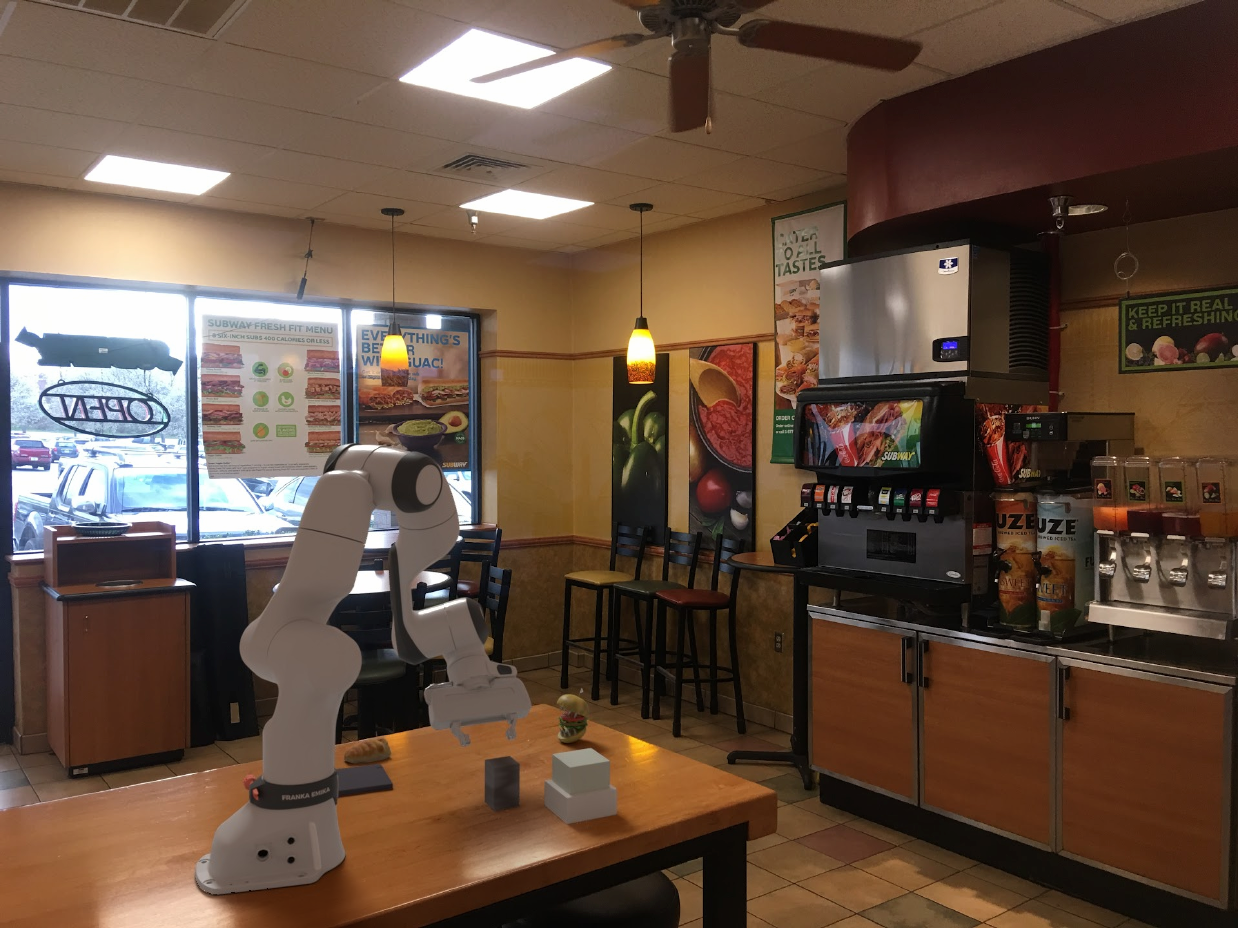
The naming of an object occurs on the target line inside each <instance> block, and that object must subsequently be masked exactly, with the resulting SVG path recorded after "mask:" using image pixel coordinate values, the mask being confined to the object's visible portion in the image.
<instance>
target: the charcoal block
mask: <svg viewBox="0 0 1238 928" xmlns="http://www.w3.org/2000/svg"><path fill="white" fill-rule="evenodd" d="M520 769H521V763H520V762H518V761H517V760H515V759H514V758H513V757H512V756H510V755H506V756H500V757H493V758H488V759H484V803H485V804H486V805H487V806H488V807H489V808H490V809H492V811H494V812H497V811H501V810H507V809H511V808H517V807H520V801H521V800H520V793H521V792H520V791H521V790H520V789H521V788H520V781H521V780H520V777H521V776H520V773H521V771H520Z"/></svg>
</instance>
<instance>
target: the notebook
mask: <svg viewBox="0 0 1238 928" xmlns="http://www.w3.org/2000/svg"><path fill="white" fill-rule="evenodd" d="M335 769H336V770H337V775H338V797H343V796H350V795H359V794H365V793H371V792H372V793H373V792H380V791H386V790H393V789H394V788H393V787H394V783H393V781H392V780H391V778H390V776H389V775H388V773H387V771H386V770H385V768H384V766H383V765H382V764H379V763H375V764H367V765H358V766H350V767H343V768H335Z"/></svg>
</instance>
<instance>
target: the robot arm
mask: <svg viewBox="0 0 1238 928" xmlns="http://www.w3.org/2000/svg"><path fill="white" fill-rule="evenodd" d="M375 510H379V511H389V512H395V516H396V520H397V524H398V535H397V539H396V542H395V543H393V545H392V546H390V547H389V550H388V556H387V557H388V559H387V562H388V563H387V564H388V565H387V566H388V583H389V584H388V585H389V593H390V604H391V605H390V606H391V612H392V613H391V616H392V627H391V628H392V629H391V644H392V648H393V650H394V652H395V654H396V656H397V657H398V659H399V660H401V661H403V662H405V663H408V664H410V665H413V666H416V665H418V664H422V663H423V662H426V661H428V660H431V659H433V658H435V657H438V656H439V657H440V656H442V657H443V659H444V660H445V662H446V665H447V666H446V673H447V676H448V681H447V682H441V683H431V684H429V686H428V687H426V688H424V691H423V697H424V700H425V702H426V704H427V705H428V716H429V725H430V726H431V728H432V729H433V730H435V731H440V730H441V731H442V730H448V729H450V733H451V734H452V735H453V736H454V737H455V738H456V739H457V740H459V744H460V747H461V748H463V747H464V748H465V747H470V745H471V739H470V734H469V733H467V734H465V733H464V731H462V730H461V729H460V728H463V727H470V726H476V725H484V724H485V725H486V724H490V723H491V724H492V723H497V722H499V723H500V722H505V721H507V724H508V725H510V727H508V728H507V729H506V731H505V736H506V740H507V741H510V740H511V741H512V740H516V738H517V736H518V735H517V730H516V725H517V722H518V719H519V720H521V719H526V718H527V716H528V715H529V713H530V712H531V709H532V702H531V699H530V695H529V692H528V691H527V688H526V686H525V684H524V682H523V681H522V680H521V679H520V678H519V677H517V675H518V670H517V668H516V667H515V666H514V665H509V664H505V663H504V664H503V663H499V662H496V661H493V660H490V658H489V655H488V654H487V653H486V649H485V648H486V647H485V646H486V645H485V644H486V642H487V641H488V637H489V635H490V631H489V626H488V625H487V622H486V621H485V615H484V610H483V607H482V605H481V604H480V603H479V602H478V601H476V600H474V599H473V598H470V597H460V598H456V599H454V600H450V601H447V602H444V603H440V604H437V605H434V606H430V607H426V608H423V609H420V610H413V597H412V584H413V582H414V581H415V579H416V578H417V577H418V576H419V575H420V574H421V573H422V572H423V571H425V570H426V569H427V568H429V567H430V566H432V565H433V564H435V563H436V562H438V561H439V560H441V559H443V558H444V557H445V556H447V555H448V554H449V552H450V551H452V549H453V548H454V546H455V545H456V543H457V542H458V538H459V537H460V536H459V535H460V531H461V530H460V520H459V513H458V510H457V505H456V502H455V498H454V495H453V492H452V489H451V486H450V484H449V482H448V480H447V478H446V476H445V473H444V472H443V470H442V468H441V465H440V464H438V462H436V460H435V459H434V458H432V457H431V456H429V455H428V454H424V453H422V452H419V451H409V450H405V449H401V448H396V447H392V446H390V445H382V444H363V443H359V442H354V443H353V442H352V443H347V444H346V443H345V444H342V445H339V446H337V447H336V448H334V449H333V451H331V453H330V455H329V456H328V458H327V459H326V462H325V463H324V466H323V471H322V475H321V476H320V477H319V478H318V480H317V482H316V483H315V485H314V487H313V489H312V491H311V493H310V495H309V496H308V499H307V502H306V503H305V506H304V509H303V512H302V515H301V517H300V520H299V524H298V527H297V531H296V534H295V537H294V541H293V543H292V547H291V550H290V554H289V557H288V561H287V564H286V567H285V570H284V572H283V575H282V577H281V580H280V582H279V583H278V585H277V588H276V589H275V592H274V593H273V595H272V596H271V598H270V600H269V601H268V603H267V604H266V607H265V608H264V610H263V611H262V613H261V614H260V615H259V616H258V617H257V618H256V619H254V620H253V621H251V622H250V623H249V624H248V626H247V627H246V628H245V629H244V631H243V633H242V635H241V638H240V640H239V641H240V642H239V654H240V657H241V661H243V663H244V664H245V666H246V667H247V668H248V669H250V671H251V672H253V673H254V674H255V675H256V676H257V677H259V678H260V679H263V680H265V681H268V682H271V683H274V684H276V685H277V688H278V694H277V695H278V697H277V700H276V705H275V709H274V712H273V714H272V717H271V718H270V719H268V720H267V722H266V723H265V725H264V727H263V730H262V774H261V775H260V776H259V777H257V778H256V776H255V775H254V774H248V775H246V776H244V778H243V780H242V783H243V786H244V788H245V790H247V791H248V798H249V799H248V802H246V803H245V804H243V806H241V808H239V809H238V810H237V811H236V812H234V813H233V814H232V815H231V816H230V817H228V818H227V819H226V820H225V821H224V822H222V823H220V824H219V826H218V827H217V829H216V831H215V832H214V836H213V837H212V838H213V839H212V842H211V847H210V853H207V854H204V855H203V856H201V858H200V859H198V861H197V863H196V864H195V869H194V870H195V871H194V879H195V878H196V879H195V882H196V881H197V882H196V884H197V883H198V884H197V886H198V885H199V886H200V887H199V886H198V887H199V889H201V890H202V891H203V890H205V891H206V892H205V891H204V892H205V893H207V892H209V893H211V894H210V895H213V894H217V895H224V894H225V895H227V894H232V893H231V892H235V893H242V892H249V890H251V891H257V890H258V891H259V890H268V889H273V888H274V889H275V888H283V887H291V886H293V887H294V886H299V885H300V886H301V885H307V884H309V885H310V884H313V883H315V882H317V881H319V879H320V878H321V877H322V876H323V875H324V874H325V873H327V872H328V871H331V870H333V869H334V868H336V867H337V866H339V865H340V864H341V863H342V862H343V861H344V859H345V856H346V851H345V847H344V845H343V842H342V841H343V840H342V838H341V833H340V827H339V821H338V814H337V813H338V812H337V811H338V810H337V805H338V798H339V796H338V775H337V770H336V769H337V768H336V767H335V766H336V764H335V763H336V762H335V761H336V727H337V720H338V714H339V709H340V706H341V703H342V700H343V697H344V696H345V693H346V692H347V691H348V690H349V689H350V688H351V687H352V686H353V685H354V683H356V681H357V679H358V678H359V675H360V672H361V669H362V665H363V664H362V661H363V658H362V652H361V649H360V647H359V645H358V643H357V642H356V641H355V640H354V639H353V638H352V637H351V636H349V635H348V634H347V633H345V632H343V631H342V630H341V629H339V628H338V627H335V626H332V625H329V624H328V620H329V619H330V617H331V615H332V613H333V612H334V611H335V609H336V607H337V605H339V603H340V602H341V601H342V600H343V599H345V598H346V597H348V595H349V594H351V592H352V591H353V589H354V587H355V583H356V581H357V577H358V573H359V570H360V569H359V568H360V565H361V562H362V558H363V555H364V551H365V547H366V543H367V539H368V535H369V531H370V526H371V518H372V514H373V512H374V511H375ZM267 888H268V889H267ZM209 893H208V894H209Z"/></svg>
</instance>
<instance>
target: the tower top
mask: <svg viewBox="0 0 1238 928" xmlns="http://www.w3.org/2000/svg"><path fill="white" fill-rule="evenodd" d="M551 756H552V757H551V758H552V759H551V779H552V781H553V782H554V783H556V784H557V785H558V786H559V787H560V788H562V789H563V790H564V791H565V792H567V793H568V794H569V795H573V794H579V793H584V792H590V791H596V790H601V789H607V788H610V785H611V783H610V782H611V780H610V779H611V765H610V764H611V760H609V759H608V758H606V757H605V756H603V755H602V754H601V753H599V752H597V751H596V750H595V749H593V748H592V747H590V748H589V747H587V748H584V749H576V750H569V751H564V752H558V753H552V755H551Z"/></svg>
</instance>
